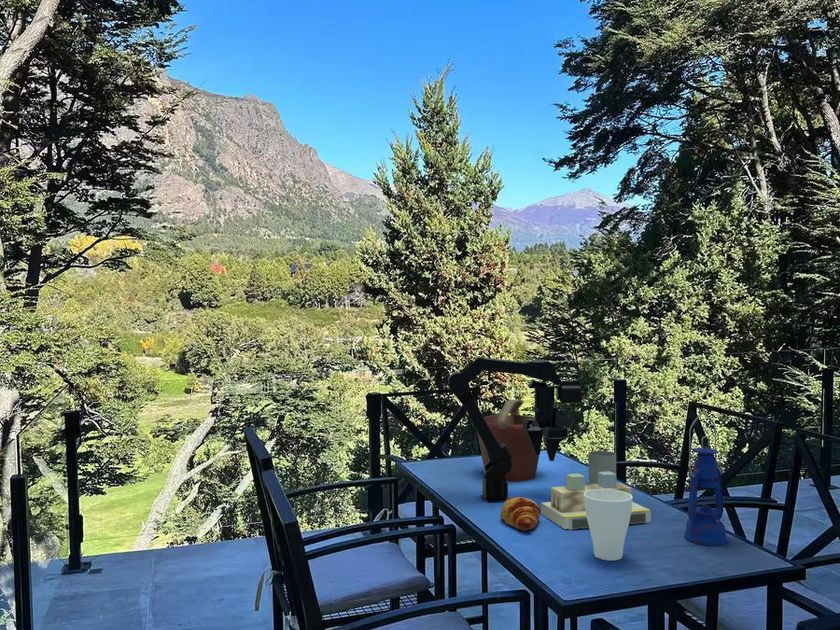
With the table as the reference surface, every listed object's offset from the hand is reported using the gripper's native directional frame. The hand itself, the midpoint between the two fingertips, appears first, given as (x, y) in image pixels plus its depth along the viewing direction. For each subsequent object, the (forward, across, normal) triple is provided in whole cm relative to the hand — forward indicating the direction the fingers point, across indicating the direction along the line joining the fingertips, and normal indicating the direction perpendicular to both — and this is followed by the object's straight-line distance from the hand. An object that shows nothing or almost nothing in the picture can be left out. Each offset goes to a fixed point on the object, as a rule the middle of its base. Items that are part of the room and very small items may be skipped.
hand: (544, 457), depth 196 cm
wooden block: (+9, -20, -4) cm, 22 cm away
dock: (+12, -20, -5) cm, 24 cm away
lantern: (+12, -42, -22) cm, 49 cm away
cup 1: (+12, +10, -24) cm, 29 cm away
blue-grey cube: (+4, -20, -9) cm, 22 cm away
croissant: (+12, -18, +15) cm, 26 cm away
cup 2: (+12, -46, +6) cm, 48 cm away
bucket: (+12, +29, -2) cm, 32 cm away
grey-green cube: (+4, -20, 0) cm, 20 cm away
